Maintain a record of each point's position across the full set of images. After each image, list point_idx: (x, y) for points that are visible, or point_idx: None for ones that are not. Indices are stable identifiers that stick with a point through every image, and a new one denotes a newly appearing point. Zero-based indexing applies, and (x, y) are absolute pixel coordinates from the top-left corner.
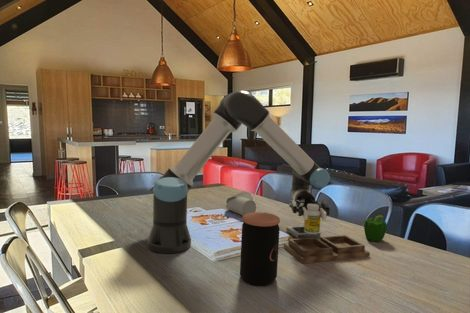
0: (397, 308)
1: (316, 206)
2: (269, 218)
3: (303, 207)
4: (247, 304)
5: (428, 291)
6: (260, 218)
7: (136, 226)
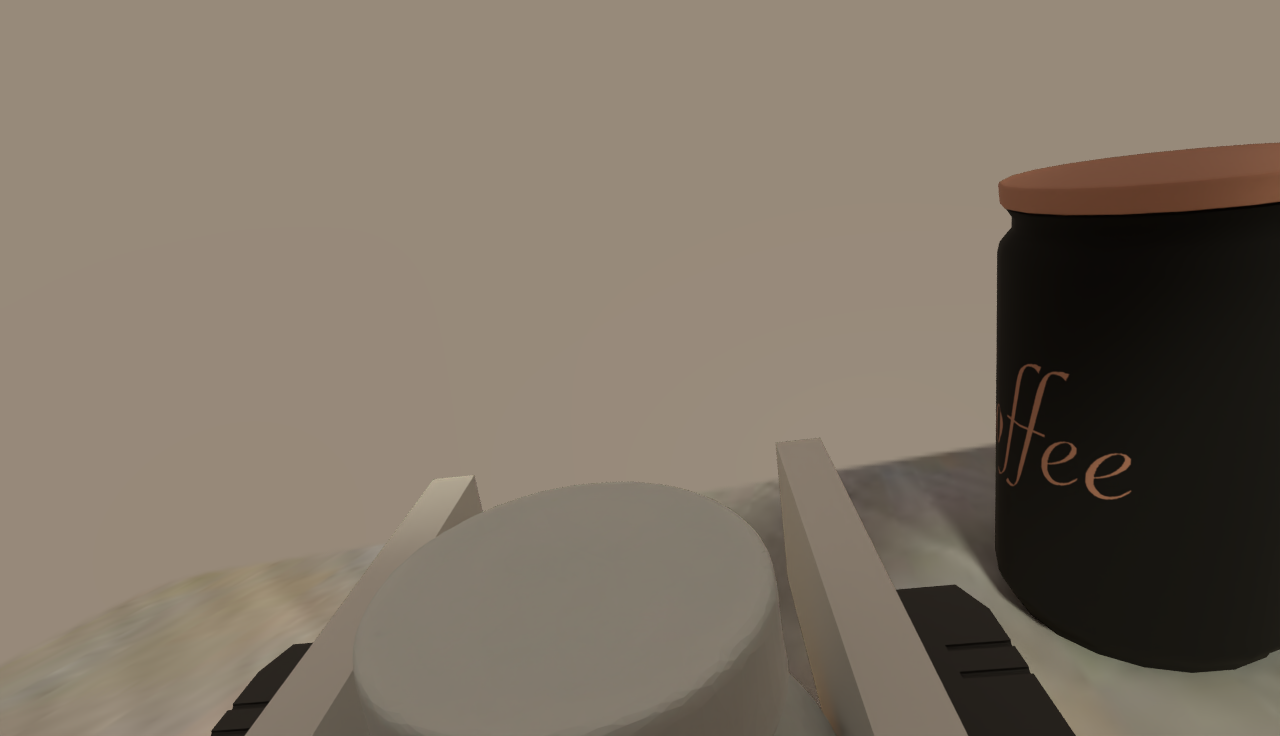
0: None
1: (524, 499)
2: (1089, 173)
3: (926, 719)
4: None
5: (152, 659)
6: (1154, 162)
7: None
